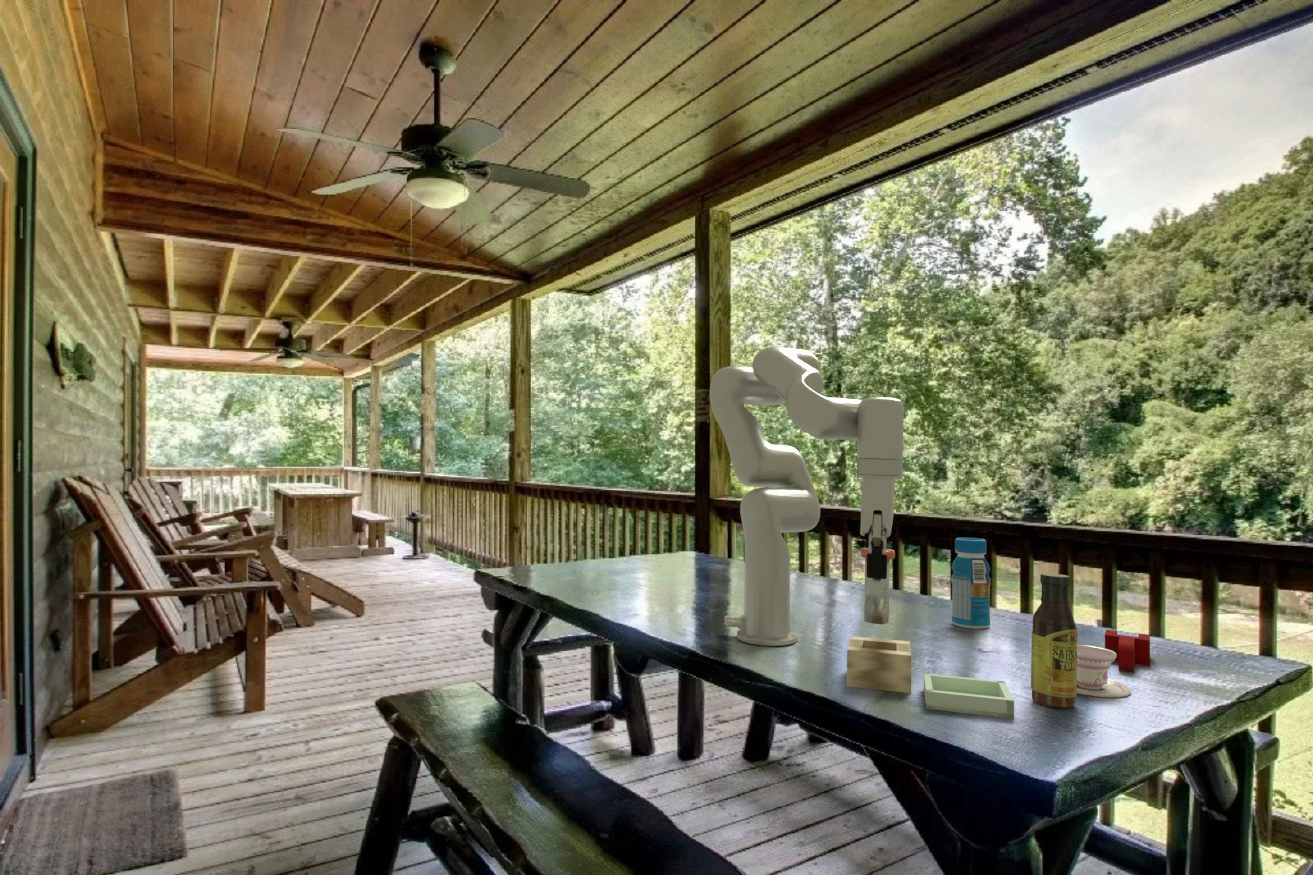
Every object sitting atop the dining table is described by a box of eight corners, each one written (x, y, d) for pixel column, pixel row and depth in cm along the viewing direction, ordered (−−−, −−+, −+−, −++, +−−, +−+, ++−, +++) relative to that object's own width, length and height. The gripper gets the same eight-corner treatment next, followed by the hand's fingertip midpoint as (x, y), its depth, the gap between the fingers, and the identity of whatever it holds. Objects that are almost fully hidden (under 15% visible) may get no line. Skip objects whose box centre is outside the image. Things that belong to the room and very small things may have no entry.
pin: (858, 623, 121) (859, 550, 121) (860, 616, 126) (861, 546, 126) (893, 626, 119) (894, 553, 119) (893, 619, 124) (895, 549, 124)
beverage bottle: (947, 626, 164) (947, 539, 165) (955, 620, 171) (955, 536, 172) (987, 631, 160) (986, 541, 160) (994, 625, 166) (993, 538, 167)
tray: (926, 708, 108) (926, 691, 108) (923, 689, 117) (923, 673, 117) (1014, 718, 104) (1014, 700, 104) (1004, 698, 113) (1004, 681, 113)
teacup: (1107, 704, 112) (1107, 664, 112) (1033, 683, 122) (1032, 646, 122) (1145, 692, 118) (1145, 654, 118) (1071, 673, 128) (1071, 638, 129)
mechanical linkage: (1106, 652, 144) (1106, 627, 144) (1150, 658, 140) (1149, 632, 140) (1102, 670, 131) (1102, 642, 131) (1150, 677, 127) (1149, 649, 127)
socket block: (847, 686, 118) (847, 649, 118) (850, 670, 128) (850, 636, 128) (911, 693, 115) (911, 655, 115) (910, 676, 124) (910, 641, 125)
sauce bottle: (1057, 712, 107) (1056, 578, 108) (1021, 699, 113) (1020, 572, 113) (1087, 707, 110) (1086, 576, 110) (1050, 694, 115) (1049, 571, 116)
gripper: (859, 468, 132) (857, 566, 132) (853, 469, 116) (851, 581, 116) (902, 469, 130) (900, 569, 129) (902, 471, 113) (900, 585, 113)
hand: (877, 574), depth 123 cm, fingers closed on pin, 5 cm apart
